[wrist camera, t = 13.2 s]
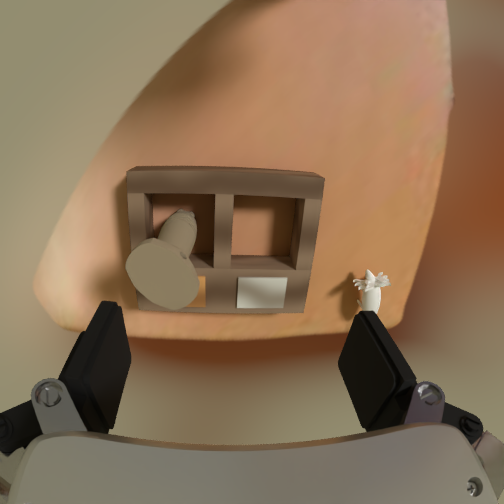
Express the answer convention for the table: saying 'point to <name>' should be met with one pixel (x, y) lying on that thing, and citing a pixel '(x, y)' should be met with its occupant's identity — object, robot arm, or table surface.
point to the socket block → (222, 262)
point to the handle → (167, 263)
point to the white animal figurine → (371, 290)
